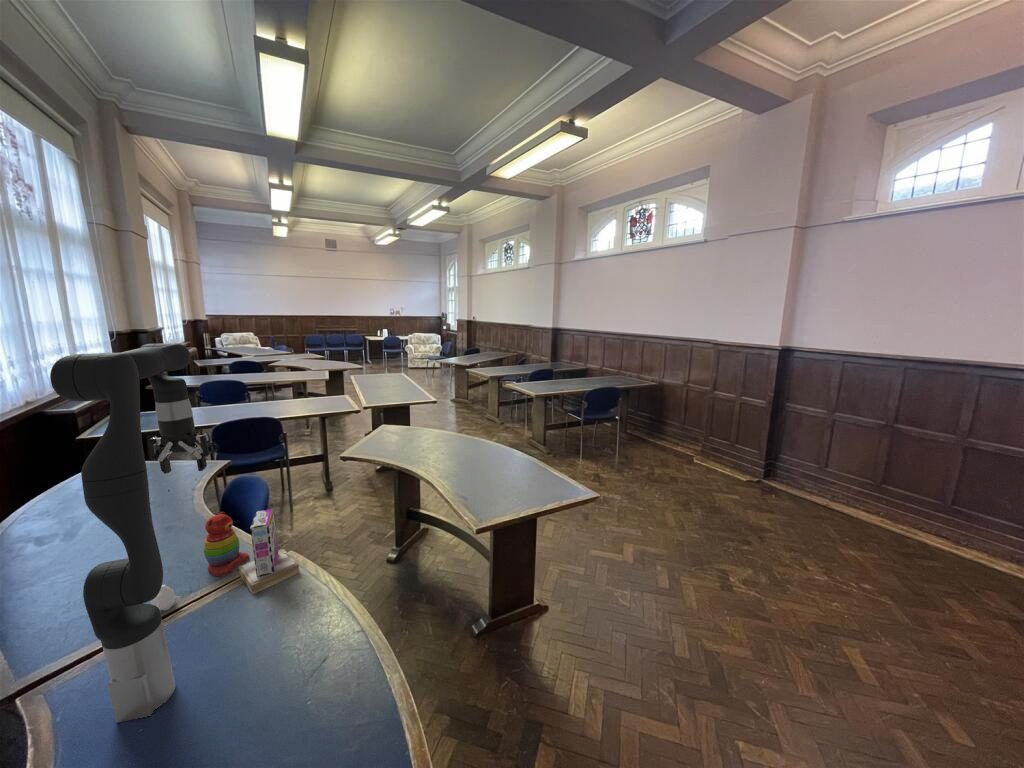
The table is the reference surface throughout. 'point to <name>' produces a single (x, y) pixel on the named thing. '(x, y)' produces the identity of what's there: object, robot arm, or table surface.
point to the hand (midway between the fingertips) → (185, 471)
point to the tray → (282, 571)
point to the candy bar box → (264, 542)
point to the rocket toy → (165, 598)
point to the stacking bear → (222, 546)
